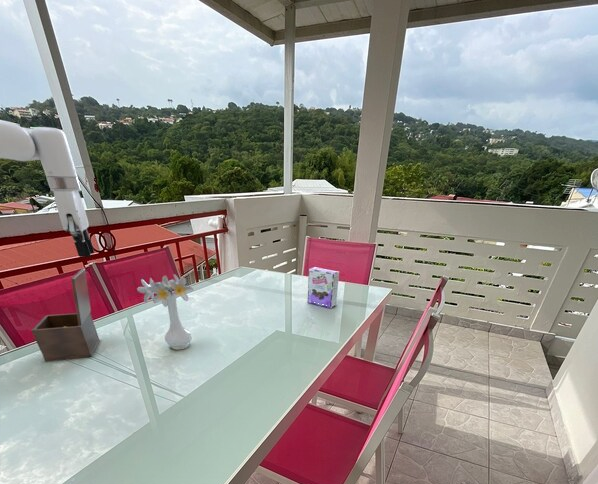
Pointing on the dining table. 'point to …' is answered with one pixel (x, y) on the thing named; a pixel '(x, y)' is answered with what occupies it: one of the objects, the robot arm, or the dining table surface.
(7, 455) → the dining table surface
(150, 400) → the dining table surface
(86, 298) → the breadbox lid
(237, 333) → the dining table surface
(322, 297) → the candy box
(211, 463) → the dining table surface
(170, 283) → the flower vase
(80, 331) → the box
